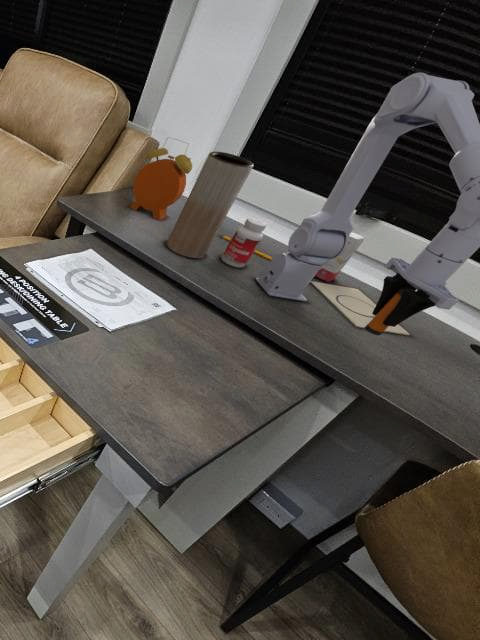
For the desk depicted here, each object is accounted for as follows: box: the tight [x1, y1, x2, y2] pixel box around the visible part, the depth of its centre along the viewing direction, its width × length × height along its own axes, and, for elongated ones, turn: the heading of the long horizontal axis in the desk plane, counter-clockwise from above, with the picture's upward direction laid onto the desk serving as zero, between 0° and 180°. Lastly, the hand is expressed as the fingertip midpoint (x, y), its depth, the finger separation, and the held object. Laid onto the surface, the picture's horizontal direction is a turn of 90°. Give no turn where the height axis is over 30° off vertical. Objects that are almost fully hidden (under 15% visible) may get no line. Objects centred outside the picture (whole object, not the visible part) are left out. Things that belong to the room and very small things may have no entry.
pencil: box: [221, 235, 273, 261], centre depth 126 cm, size 1×18×1 cm, turn 40°
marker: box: [364, 287, 417, 336], centre depth 84 cm, size 3×3×9 cm
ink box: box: [314, 229, 366, 283], centre depth 117 cm, size 9×5×12 cm, turn 33°
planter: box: [166, 150, 254, 259], centre depth 111 cm, size 10×10×23 cm
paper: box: [310, 280, 411, 336], centre depth 109 cm, size 13×20×1 cm, turn 177°
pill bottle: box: [220, 217, 267, 269], centre depth 114 cm, size 6×6×11 cm
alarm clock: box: [129, 136, 193, 221], centre depth 130 cm, size 13×6×20 cm, turn 49°
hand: (383, 320), depth 86 cm, fingers closed on marker, 3 cm apart
